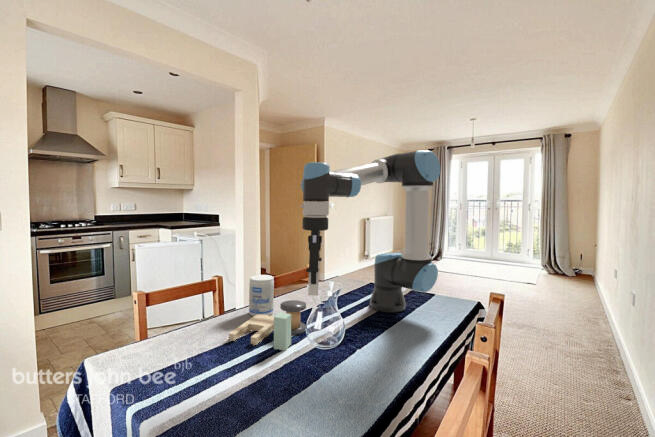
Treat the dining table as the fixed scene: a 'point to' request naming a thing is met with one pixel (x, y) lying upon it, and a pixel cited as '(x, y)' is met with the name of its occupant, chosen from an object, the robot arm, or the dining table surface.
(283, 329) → the peg
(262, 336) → the notched board
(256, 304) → the supplement tub
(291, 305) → the bobbin
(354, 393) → the dining table surface
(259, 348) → the dining table surface
